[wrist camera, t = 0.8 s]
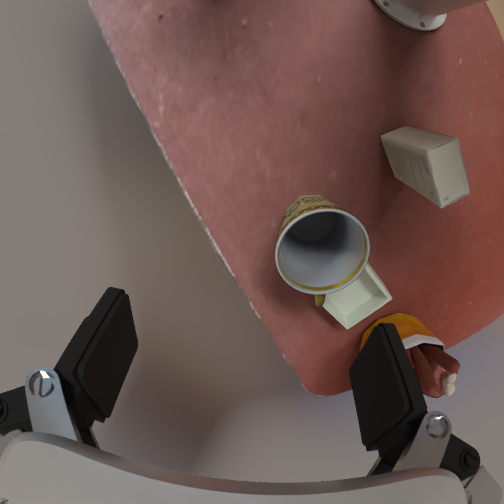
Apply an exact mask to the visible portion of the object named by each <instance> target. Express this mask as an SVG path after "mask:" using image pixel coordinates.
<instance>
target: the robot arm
mask: <svg viewBox="0 0 504 504" xmlns="http://www.w3.org/2000/svg"><path fill="white" fill-rule="evenodd" d="M374 1H375V3H376V4H377V5H378V6H379V7H380V8H381V9H382V10H383V11H384V12H385V13H386V14H387V15H388V16H390V17H391V18H392V19H394V20H395V21H397V22H398V23H400V24H402V25H404V26H406V27H409V28H411V29H415V30H419V31H430V30H434V29H437V28H438V27H440V26H441V25H442V24H443V23H444V22H445V19H446V15H447V13H448V12H451V11H454V10H457V9H460V8H463V7H466V6H469V5H473V4H476V3H480V2H484V1H488V0H374ZM137 348H138V339H137V335H136V330H135V326H134V321H133V316H132V311H131V305H130V300H129V296H128V295H127V294H125V291H124V290H123V289H118V288H113V287H109V288H108V289H107V290H106V292H105V293H104V295H103V296H102V297H101V299H100V300H99V302H98V303H97V305H96V306H95V308H94V309H93V311H92V312H91V314H90V315H89V316H88V317H86V318H85V319H84V321H83V322H82V324H81V325H80V327H79V328H78V330H77V332H76V333H75V335H74V336H73V338H72V339H71V341H70V343H69V344H68V346H67V347H66V349H65V351H64V352H63V354H62V356H61V357H60V359H59V361H58V363H57V364H56V366H55V368H54V370H52V369H51V368H48V367H39V368H36V369H34V370H33V371H32V372H30V373H29V375H28V376H27V378H26V382H25V386H22V387H19V388H16V389H13V390H10V391H7V392H4V393H1V394H0V504H499V502H500V500H501V496H502V490H501V488H500V486H499V485H498V484H497V482H496V481H495V480H494V479H493V478H492V476H491V475H490V474H489V473H488V471H487V470H486V469H485V468H484V466H483V465H482V466H480V456H479V453H478V452H477V450H476V449H474V448H473V447H472V446H470V445H469V444H467V443H465V442H463V441H462V440H461V439H459V438H457V437H456V436H454V435H453V434H451V430H452V429H451V423H450V420H449V419H448V417H447V416H446V415H445V414H444V413H442V412H440V411H431V412H427V405H426V402H425V399H424V396H423V394H422V391H421V388H420V385H419V383H418V380H417V377H416V375H415V372H414V369H413V367H412V364H411V362H410V359H409V357H408V354H407V352H406V349H405V347H404V345H403V342H402V340H401V338H400V335H399V333H398V331H397V328H396V326H395V325H394V324H393V323H379V324H378V325H377V326H375V327H374V328H373V330H372V332H371V333H370V335H369V337H368V339H367V341H366V342H365V344H364V346H363V348H362V349H361V351H360V353H359V354H358V356H357V358H356V359H355V361H354V363H353V364H352V366H351V368H350V372H349V376H350V381H351V386H352V390H353V395H354V400H355V405H356V411H357V416H358V421H359V427H360V432H361V438H362V443H363V445H364V446H366V450H367V451H373V450H378V452H379V457H378V459H377V460H376V462H375V463H374V465H373V467H372V468H371V470H370V471H369V473H368V474H367V476H366V477H358V478H351V479H343V480H334V481H321V482H306V483H305V482H304V483H267V482H248V481H235V480H226V479H218V478H210V477H204V476H197V475H192V474H186V473H181V472H176V471H172V470H167V469H163V468H159V467H155V466H151V465H147V464H143V463H140V462H137V461H133V460H130V459H126V458H123V457H120V456H117V455H114V454H111V453H108V452H105V451H103V450H101V449H100V447H99V445H98V442H97V440H96V437H95V435H94V433H93V430H92V425H93V422H94V420H97V421H99V422H102V423H104V421H105V419H106V418H109V417H110V416H111V413H112V411H113V408H114V405H115V403H116V400H117V398H118V395H119V392H120V390H121V387H122V385H123V382H124V380H125V377H126V375H127V372H128V370H129V368H130V365H131V363H132V361H133V358H134V356H135V353H136V351H137Z"/></svg>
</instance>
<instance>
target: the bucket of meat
mask: <svg viewBox="0 0 504 504" xmlns="http://www.w3.org/2000/svg"><path fill="white" fill-rule="evenodd" d="M379 323H393V324H394V325H395V326H396V328H397V331H398V333H399V335H400V338H401V340H402V342H403V345H404V347H405V349H406V352H407V354H408V357H409V359H410V362H411V364H412V367H413V369H414V372H415V375H416V377H417V380H418V383H419V385H420V388H421V391H422V394H425V395H427V396H429V397H432V398H439V397H440V396H442V395H444V394H445V395H446V396H450V395H452V393H453V392H454V391H455V385H454V381H455V380H456V377H457V372H458V370H459V368H460V364H459V362H458V361H457V360H456V359H455V358H453V357H451V356H450V355H448V354H447V353H445V345H444V344H443V343H442V342H441V341H439V340H438V339H437V338H436V337H435V336H434V335H433V333H432V332H431V331H430V330H429V329H428V328H427V327H426V326H425V325H424V324H423V323H422V322H421V321H420V320H419V319H417V318H416V317H415V316H412V315H407V314H403V313H394V314H391V315H388V316H385V317H382V318H379V319H378V320H377V321H376V322H375V323H374V324H372V325H371V326H370V327H369V328H368V329H367V330H366V331H365V332H364V334H363V337H362V341H361V345H360V351H361V349H362V348H363V346H364V344H365V342H366V341H367V339H368V337H369V335H370V333H371V332H372V330H373V328H374V327H375V326H377V325H378V324H379Z"/></svg>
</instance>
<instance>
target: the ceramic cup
mask: <svg viewBox="0 0 504 504" xmlns="http://www.w3.org/2000/svg"><path fill="white" fill-rule="evenodd" d="M370 249H371V248H370V239H369V235H368V232H367V230H366V228H365V227H364V225H363V224H362V223H361V222H360V220H359V219H357V218H356V217H355V216H354V215H352V214H351V213H350V212H348V211H347V210H346V209H344V208H342V207H341V206H339V205H337V204H335V203H332V202H331V201H329V200H328V199H326V198H324V197H323V196H321V195H304V196H300V197H299V198H298V199H297V200H296V201H295V202H294V203H293V204H292V205H291V206H290V207H289V208H288V209H287V210H286V213H285V216H284V220H283V224H282V226H281V228H280V231H279V235H278V238H277V243H276V249H275V262H276V266H277V269H278V272H279V273H280V275H281V277H282V278H283V279H284V280H285V281H286V283H287V284H289V285H290V286H291V287H293V288H294V289H296V290H298V291H301V292H304V293H307V294H315V303H316V306H317V307H321V306H323V304H324V302H325V297H326V294H329V293H333V292H336V291H339V290H341V289H343V288H345V287H347V286H348V285H350V284H351V283H353V282H354V281H355V280H356V279H357V278H358V277H359V276H360V275H361V273H362V272H363V270H364V269H365V267H366V265H367V263H368V260H369V256H370Z"/></svg>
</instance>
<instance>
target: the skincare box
mask: <svg viewBox="0 0 504 504" xmlns="http://www.w3.org/2000/svg"><path fill="white" fill-rule="evenodd" d="M380 138H381V141H382V143H383V146H384V149H385V152H386V154H387V157H388V160H389V163H390V166H391V169H392V171H393V174H394V177H395V178H397V179H398V180H400V181H402V182H403V183H405V184H406V185H408V186H409V187H411V188H412V189H414V190H415V191H417V192H418V193H420V194H421V195H423V196H424V197H426V198H427V199H429V200H430V201H431V202H433V203H434V204H435V205H437V206H438V207H440V208H443V207H445V206H447V205H449V204H451V203H453V202H455V201H457V200H459V199H461V198H463V197H464V196H466V195H468V194H469V193H470V192H469V184H468V179H467V173H466V168H465V164H464V160H463V155H462V152H461V148H460V144H459V141H458V139H457V138H455V137H451V136H447V135H443V134H439V133H435V132H431V131H426V130H422V129H417V128H412V127H407V126H404V127H401V128H398V129H396V130H393V131H391V132H388V133H386V134H383V135H381V136H380Z"/></svg>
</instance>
